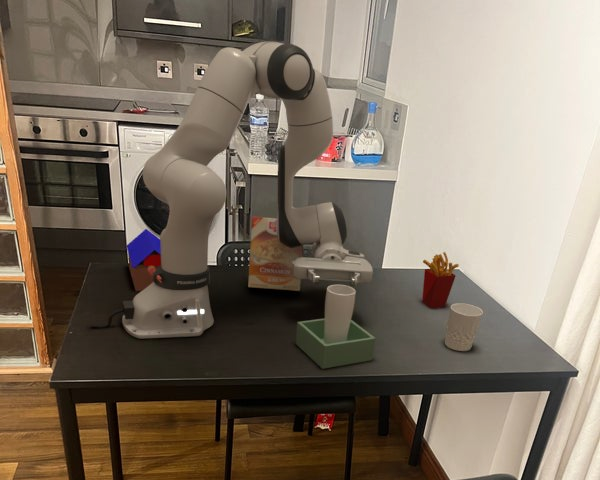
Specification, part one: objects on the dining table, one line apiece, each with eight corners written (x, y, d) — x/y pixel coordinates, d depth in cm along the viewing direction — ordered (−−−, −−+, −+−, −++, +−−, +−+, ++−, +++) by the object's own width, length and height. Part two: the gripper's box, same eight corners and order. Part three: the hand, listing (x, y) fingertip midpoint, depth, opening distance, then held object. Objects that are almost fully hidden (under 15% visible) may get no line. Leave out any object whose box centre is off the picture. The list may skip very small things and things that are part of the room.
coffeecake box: (247, 287, 169) (251, 215, 166) (248, 287, 176) (252, 218, 173) (300, 291, 170) (305, 220, 166) (299, 290, 177) (304, 222, 173)
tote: (322, 369, 136) (325, 346, 133) (295, 343, 146) (297, 321, 143) (372, 360, 142) (375, 338, 139) (343, 336, 152) (345, 315, 149)
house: (167, 266, 186) (166, 228, 180) (178, 289, 170) (177, 249, 164) (127, 267, 182) (125, 228, 176) (134, 291, 166) (131, 250, 160)
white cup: (440, 337, 157) (448, 301, 151) (469, 340, 157) (478, 304, 152) (445, 351, 150) (454, 314, 145) (476, 353, 150) (486, 317, 145)
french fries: (449, 307, 175) (460, 257, 168) (425, 310, 172) (436, 259, 165) (432, 296, 182) (442, 248, 174) (409, 298, 179) (419, 249, 171)
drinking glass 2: (348, 344, 147) (356, 286, 139) (347, 356, 141) (356, 296, 133) (320, 340, 147) (327, 282, 139) (319, 353, 141) (325, 293, 133)
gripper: (292, 248, 156) (294, 266, 145) (369, 254, 158) (377, 271, 146) (290, 271, 160) (292, 290, 148) (366, 277, 161) (373, 296, 149)
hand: (335, 281), depth 147 cm, fingers open, 8 cm apart
